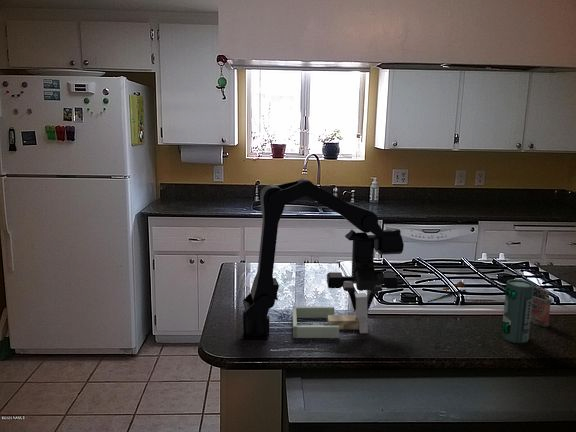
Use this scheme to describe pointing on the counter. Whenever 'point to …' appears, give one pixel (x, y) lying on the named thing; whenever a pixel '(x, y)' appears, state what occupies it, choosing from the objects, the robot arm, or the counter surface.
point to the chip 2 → (350, 322)
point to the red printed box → (540, 307)
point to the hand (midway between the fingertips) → (360, 310)
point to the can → (517, 310)
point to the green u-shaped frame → (313, 330)
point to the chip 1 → (336, 321)
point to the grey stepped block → (361, 311)
